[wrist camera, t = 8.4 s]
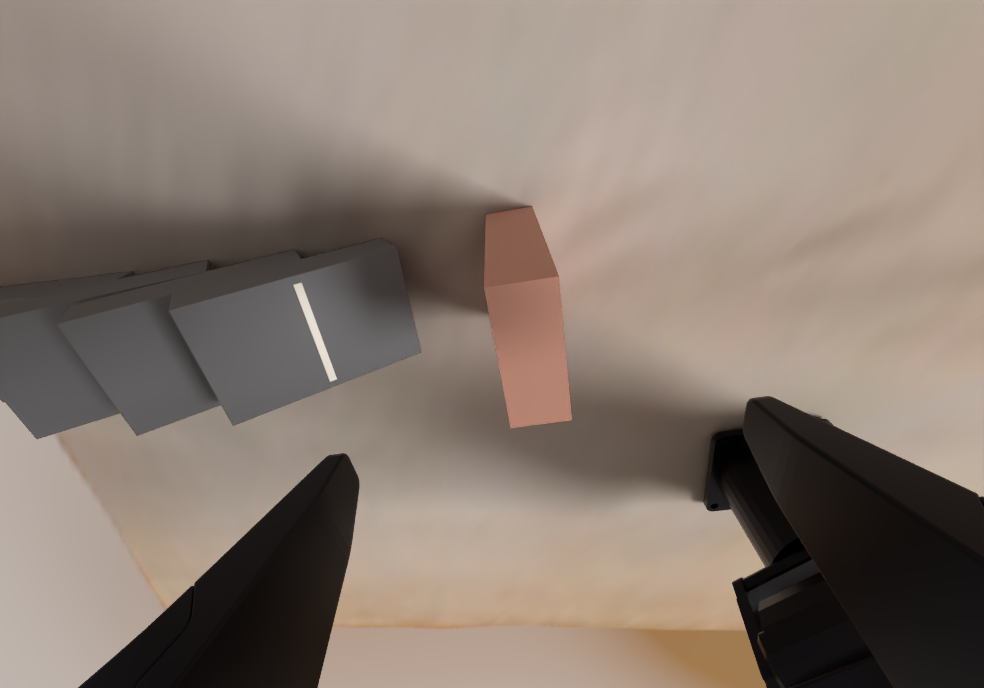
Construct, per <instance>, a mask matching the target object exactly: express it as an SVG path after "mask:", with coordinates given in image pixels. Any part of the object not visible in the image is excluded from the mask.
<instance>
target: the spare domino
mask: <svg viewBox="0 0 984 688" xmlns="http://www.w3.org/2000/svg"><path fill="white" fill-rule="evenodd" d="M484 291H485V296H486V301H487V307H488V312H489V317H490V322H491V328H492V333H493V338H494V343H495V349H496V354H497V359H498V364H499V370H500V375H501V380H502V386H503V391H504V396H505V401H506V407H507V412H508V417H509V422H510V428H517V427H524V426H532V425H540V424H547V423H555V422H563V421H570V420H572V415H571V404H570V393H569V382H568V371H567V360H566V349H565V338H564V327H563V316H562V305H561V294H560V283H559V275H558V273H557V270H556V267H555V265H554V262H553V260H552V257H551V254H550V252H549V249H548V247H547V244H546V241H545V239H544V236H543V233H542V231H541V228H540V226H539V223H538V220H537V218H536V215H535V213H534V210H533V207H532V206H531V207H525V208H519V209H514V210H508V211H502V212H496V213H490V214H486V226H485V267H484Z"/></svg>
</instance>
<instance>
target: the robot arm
mask: <svg viewBox="0 0 984 688" xmlns="http://www.w3.org/2000/svg"><path fill="white" fill-rule="evenodd" d="M722 440H723V441H722ZM358 494H359V478H358V475H357V473H356V471H355V469H354V467H353V465H352V463H351V461H350V458H349V457H348V455H347V454H344V453H341V454H334V455H329V456H327V457H326V458H325V459H324V460H323V461H321V462H320V463H319V464H318V465H317V466H316V467H315V468H314V469H313V470H312V471H311V472H310V473H309V474H308V475H307V476H306V477H305V478H304V479H303V480H302V481H301V482H300V483H299V484H297V485H296V486H295V487H294V488H293V489H292V490H291V491H290V492H289V493H288V494H287V495H286V496H285V497H284V498H283V499H282V500H281V501H280V502H279V503H278V504H277V505H276V506H274V507H273V508H272V509H271V510H270V511H269V512H268V513H267V514H266V515H265V516H264V517H263V518H262V519H261V520H260V521H259V522H258V523H257V524H256V525H255V526H254V527H253V528H252V529H250V530H249V531H248V532H247V533H246V534H245V535H244V536H243V537H242V538H241V539H240V540H239V541H238V542H237V543H236V544H235V545H234V546H233V547H232V548H231V549H230V550H229V551H227V552H226V553H225V554H224V555H223V556H222V557H221V558H220V559H219V560H218V561H217V562H216V563H215V564H214V565H213V566H212V567H211V568H210V569H209V570H208V571H207V572H206V573H204V574H203V575H202V576H201V577H200V578H199V579H198V580H197V581H196V582H195V584H194V586H191V587H190V588H189V589H188V590H187V591H186V592H185V593H183V594H182V595H181V596H180V597H179V598H178V599H177V600H176V601H175V602H174V603H173V604H172V605H171V606H170V607H169V608H168V609H167V610H165V611H164V612H163V613H162V614H161V615H160V616H159V617H158V618H157V619H156V620H155V621H154V622H153V623H151V624H150V625H149V626H148V627H147V628H146V629H145V630H144V631H143V632H142V633H141V634H139V635H138V636H137V637H136V638H135V639H134V640H133V641H131V642H130V643H129V644H128V645H127V646H126V647H125V648H124V649H122V650H121V651H120V652H119V653H118V654H117V655H115V656H114V657H113V658H112V659H111V660H110V661H109V662H107V663H106V664H105V665H104V666H103V667H102V668H100V669H99V670H98V671H97V672H96V673H95V674H94V675H92V676H91V677H90V678H89V679H88V680H86V681H85V682H84V683H83V684H82V685H81V686H80V687H78V688H317V687H318V683H319V679H320V675H321V671H322V666H323V662H324V658H325V655H326V650H327V646H328V642H329V638H330V634H331V630H332V626H333V622H334V618H335V614H336V610H337V605H338V601H339V597H340V593H341V589H342V585H343V581H344V577H345V573H346V569H347V565H348V560H349V556H350V551H351V545H352V539H353V531H354V524H355V516H356V509H357V501H358ZM704 505H705V506H706V508H707V510H709V511H720V510H729V509H732V511H733V513H734V514H735V516H736V518H737V519H738V521H739V523H740V525H741V526H742V528H743V530H744V531H745V533H746V535H747V536H748V538H749V540H750V542H751V543H752V545H753V547H754V548H755V550H756V552H757V554H758V555H759V557H760V559H761V560H762V562H763V564H764V566H765V568H763V569H761V570H759V571H757V572H755V573H754V574H752V575H750V576H748V577H746V578H744V579H743V578H739V579H737V580H736V581H734V582H732V584H733V587H734V590H735V593H736V597H737V603H738V606H739V609H740V612H741V615H742V618H743V621H744V624H745V627H746V630H747V633H748V637H749V640H750V643H751V646H752V649H753V652H754V655H755V658H756V661H757V664H758V667H759V670H760V673H761V675H762V678H763V680H764V681H765V683H766V687H767V688H984V497H979V496H978V494H977V493H975V492H973V491H971V490H968V489H966V488H964V487H962V486H960V485H958V484H956V483H954V482H951V481H949V480H947V479H945V478H943V477H941V476H939V475H937V474H934V473H932V472H930V471H928V470H926V469H924V468H922V467H920V466H917V465H915V464H913V463H911V462H909V461H907V460H905V459H903V458H901V457H898V456H896V455H894V454H892V453H890V452H888V451H886V450H884V449H881V448H879V447H877V446H875V445H873V444H871V443H869V442H867V441H864V440H862V439H860V438H858V437H856V436H854V435H852V434H850V433H847V432H845V431H843V430H841V429H839V428H837V427H835V426H833V424H832V423H831V422H829V421H828V420H827V419H818V418H816V417H814V416H811V415H809V414H807V413H805V412H803V411H801V410H799V409H797V408H794V407H792V406H790V405H788V404H786V403H784V402H782V401H780V400H777V399H775V398H773V397H770V396H765V397H757V398H751V399H749V401H748V402H747V405H746V411H745V416H744V422H743V429H738V430H731V431H723V432H718V433H716V434H715V435H714V436H713V437H712V442H711V449H710V457H709V465H708V473H707V480H706V488H705V496H704Z"/></svg>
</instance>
